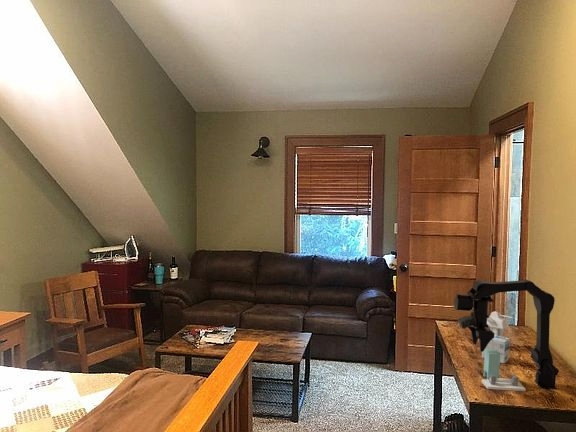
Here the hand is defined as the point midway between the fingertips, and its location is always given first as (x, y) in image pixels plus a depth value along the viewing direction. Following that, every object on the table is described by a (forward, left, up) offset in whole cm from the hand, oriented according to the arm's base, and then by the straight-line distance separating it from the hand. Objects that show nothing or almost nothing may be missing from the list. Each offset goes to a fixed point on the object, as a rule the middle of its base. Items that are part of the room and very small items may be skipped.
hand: (478, 347), depth 195 cm
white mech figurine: (-24, -44, -15) cm, 52 cm away
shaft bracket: (-10, +3, -15) cm, 18 cm away
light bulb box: (-17, -27, -15) cm, 35 cm away
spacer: (-7, -4, -15) cm, 17 cm away
